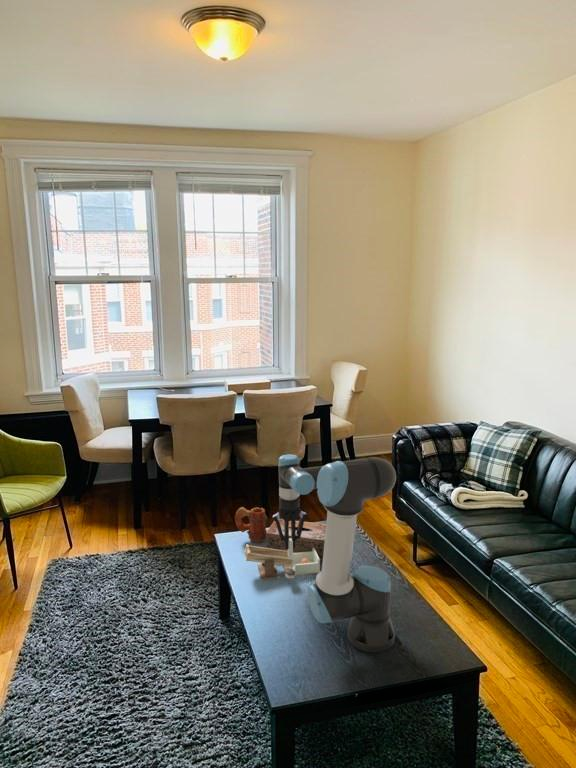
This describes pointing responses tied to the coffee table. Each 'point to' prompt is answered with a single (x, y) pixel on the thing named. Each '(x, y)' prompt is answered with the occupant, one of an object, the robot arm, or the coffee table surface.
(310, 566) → the bin
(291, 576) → the lever
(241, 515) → the mug
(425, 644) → the coffee table surface
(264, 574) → the fulcrum
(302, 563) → the ball
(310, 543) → the tissue box cover
